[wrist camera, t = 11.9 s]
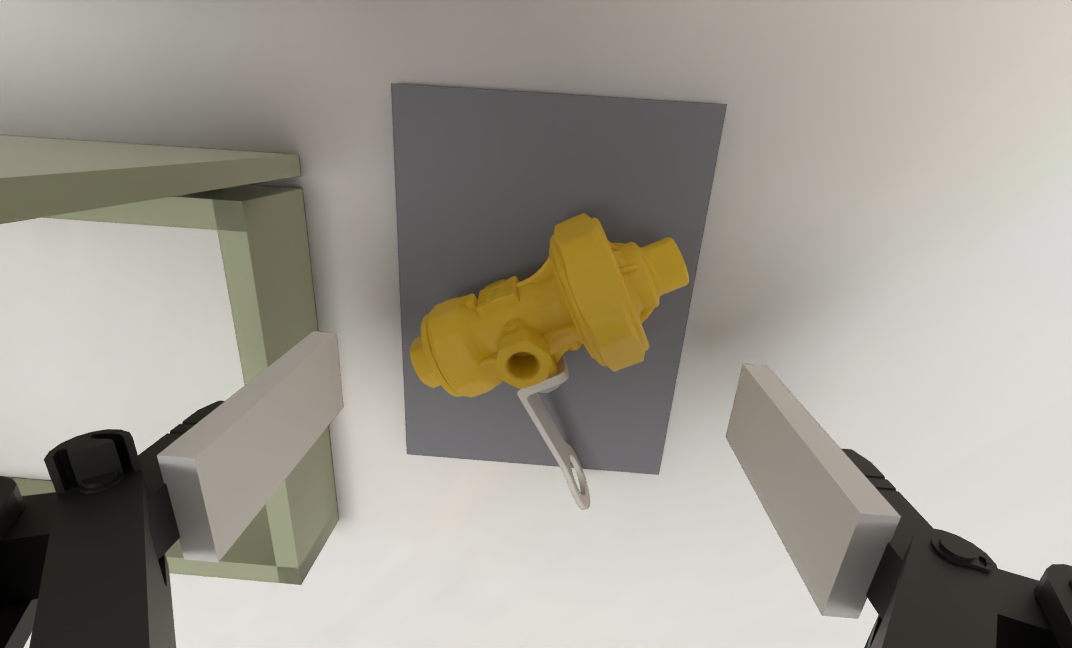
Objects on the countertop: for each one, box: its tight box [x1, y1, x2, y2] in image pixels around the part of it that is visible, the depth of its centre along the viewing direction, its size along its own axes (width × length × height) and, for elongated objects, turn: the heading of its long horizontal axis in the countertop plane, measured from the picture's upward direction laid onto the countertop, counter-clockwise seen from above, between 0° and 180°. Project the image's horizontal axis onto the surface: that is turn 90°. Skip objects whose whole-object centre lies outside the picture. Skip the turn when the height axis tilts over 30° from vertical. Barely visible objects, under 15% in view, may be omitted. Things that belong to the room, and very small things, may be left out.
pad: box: [391, 83, 727, 475], centre depth 21 cm, size 16×12×1 cm
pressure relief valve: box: [410, 213, 689, 510], centre depth 19 cm, size 6×12×10 cm
